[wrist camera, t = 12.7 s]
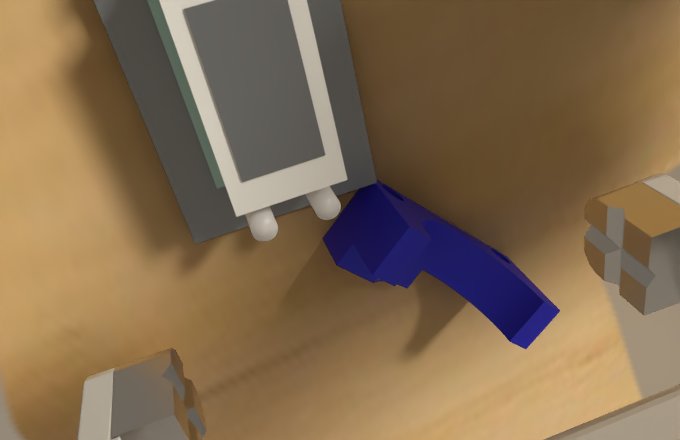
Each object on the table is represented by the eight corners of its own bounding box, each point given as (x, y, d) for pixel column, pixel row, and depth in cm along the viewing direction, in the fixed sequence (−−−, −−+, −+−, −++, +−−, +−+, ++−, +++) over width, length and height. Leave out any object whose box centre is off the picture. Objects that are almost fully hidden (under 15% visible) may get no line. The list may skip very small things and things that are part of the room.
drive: (266, -78, 24) (291, -70, 20) (320, 141, 30) (348, 180, 26) (145, -46, 24) (147, -31, 20) (223, 173, 29) (236, 217, 25)
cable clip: (321, 237, 34) (354, 298, 29) (367, 173, 33) (409, 226, 28) (462, 306, 40) (509, 367, 35) (505, 255, 39) (560, 310, 34)
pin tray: (294, -195, 24) (329, -211, 20) (370, 174, 33) (405, 217, 29) (41, -134, 22) (19, -136, 18) (193, 234, 31) (203, 288, 27)
